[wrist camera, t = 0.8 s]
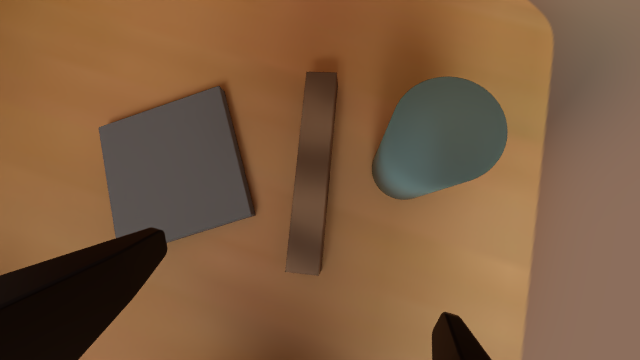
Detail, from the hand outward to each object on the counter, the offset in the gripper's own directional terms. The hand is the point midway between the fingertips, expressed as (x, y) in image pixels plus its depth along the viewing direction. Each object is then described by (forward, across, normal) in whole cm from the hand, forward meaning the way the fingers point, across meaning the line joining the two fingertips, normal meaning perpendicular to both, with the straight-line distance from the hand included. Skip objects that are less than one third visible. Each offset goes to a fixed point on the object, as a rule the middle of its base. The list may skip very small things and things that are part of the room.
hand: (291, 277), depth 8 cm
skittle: (+15, -5, +2) cm, 16 cm away
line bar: (+14, +2, +3) cm, 15 cm away
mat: (+13, +15, +5) cm, 20 cm away
